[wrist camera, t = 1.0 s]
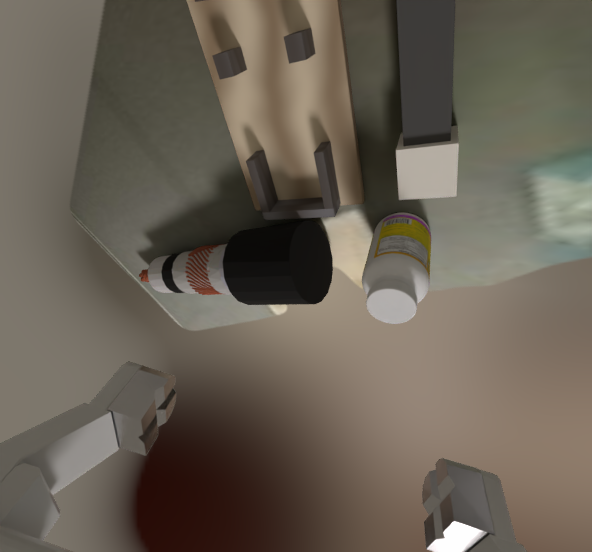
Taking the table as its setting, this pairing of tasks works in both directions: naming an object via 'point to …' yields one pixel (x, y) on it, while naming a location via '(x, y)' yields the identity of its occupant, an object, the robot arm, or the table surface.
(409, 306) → the supplement bottle
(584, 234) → the table surface
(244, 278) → the cable
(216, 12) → the clip board
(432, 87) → the bar
